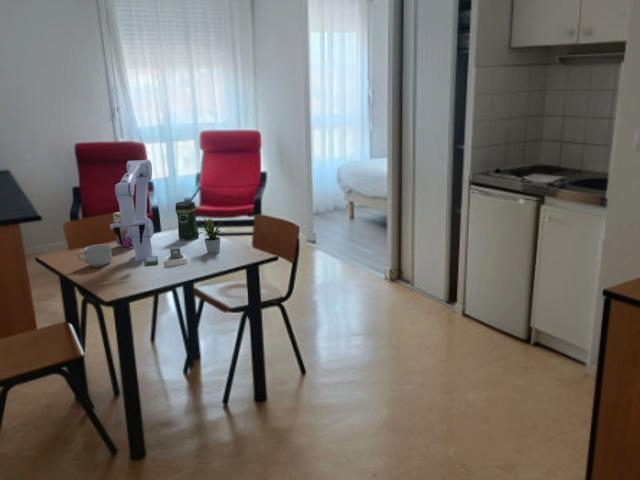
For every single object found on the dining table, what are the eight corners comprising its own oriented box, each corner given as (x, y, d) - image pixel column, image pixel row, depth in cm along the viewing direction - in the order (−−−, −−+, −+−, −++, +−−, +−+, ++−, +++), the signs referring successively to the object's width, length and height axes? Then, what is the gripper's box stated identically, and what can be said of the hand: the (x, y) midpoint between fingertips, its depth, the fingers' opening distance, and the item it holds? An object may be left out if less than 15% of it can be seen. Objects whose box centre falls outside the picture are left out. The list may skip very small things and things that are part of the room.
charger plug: (171, 261, 255) (169, 247, 253) (180, 259, 256) (179, 246, 254) (171, 263, 251) (170, 249, 249) (181, 262, 252) (180, 248, 250)
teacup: (112, 260, 264) (110, 242, 262) (113, 266, 254) (111, 248, 252) (79, 265, 259) (76, 247, 257) (78, 271, 249) (76, 253, 247)
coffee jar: (201, 236, 300) (197, 200, 296) (194, 240, 293) (190, 203, 288) (183, 236, 303) (179, 200, 298) (176, 240, 295) (172, 203, 291)
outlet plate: (142, 262, 257) (141, 257, 256) (189, 256, 262) (188, 251, 262) (142, 270, 245) (141, 264, 244) (192, 264, 250) (191, 258, 250)
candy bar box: (116, 246, 289) (111, 213, 285) (124, 244, 293) (120, 211, 289) (132, 248, 283) (127, 214, 279) (140, 246, 287) (136, 212, 283)
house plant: (189, 252, 270) (185, 217, 266) (215, 246, 278) (212, 212, 275) (206, 257, 259) (202, 221, 255) (232, 251, 268) (229, 215, 264)
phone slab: (145, 260, 258) (145, 257, 257) (157, 259, 259) (157, 255, 259) (146, 266, 249) (145, 262, 249) (158, 264, 251) (157, 260, 250)
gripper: (108, 215, 238) (112, 248, 241) (145, 211, 242) (149, 244, 245) (109, 212, 245) (113, 244, 248) (145, 208, 249) (149, 240, 252)
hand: (131, 244), depth 247 cm, fingers open, 7 cm apart
